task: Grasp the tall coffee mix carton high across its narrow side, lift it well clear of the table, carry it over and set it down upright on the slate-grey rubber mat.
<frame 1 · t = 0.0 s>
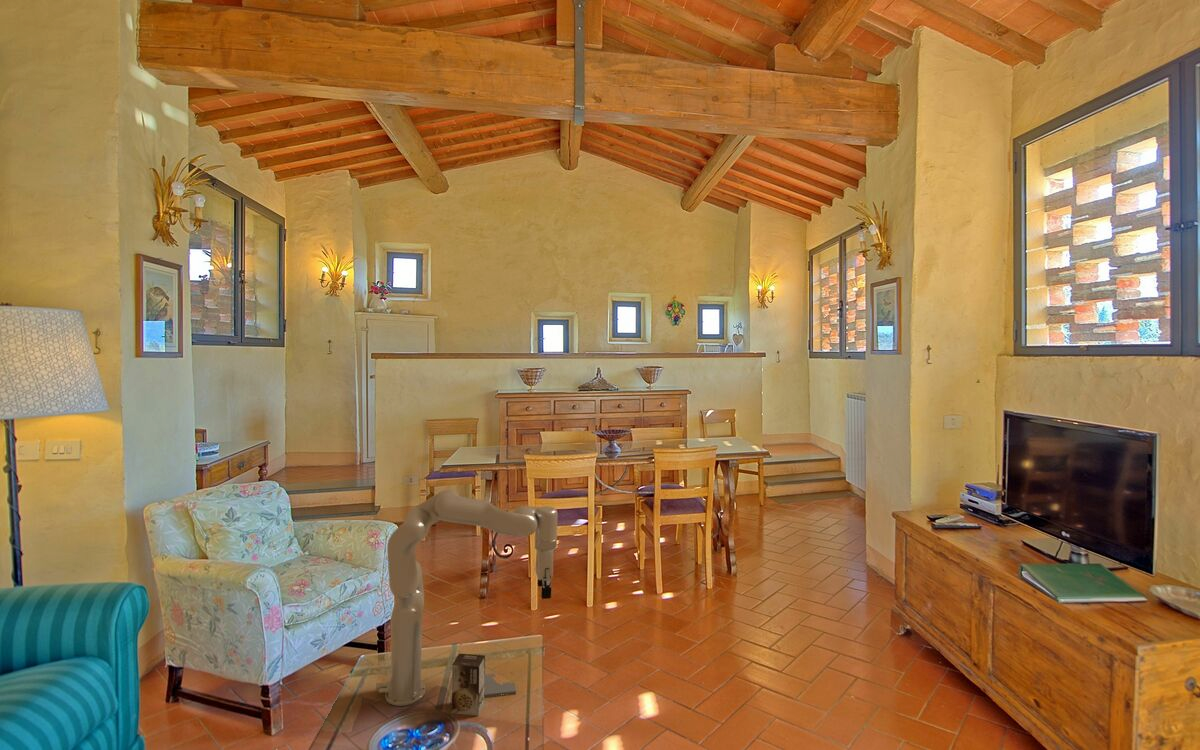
hand: (544, 591, 189), 31 cm above the table, tool pointing down, fingers open, 9 cm apart
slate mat: (498, 685, 186), on the table
coffee box: (468, 709, 174), on the table
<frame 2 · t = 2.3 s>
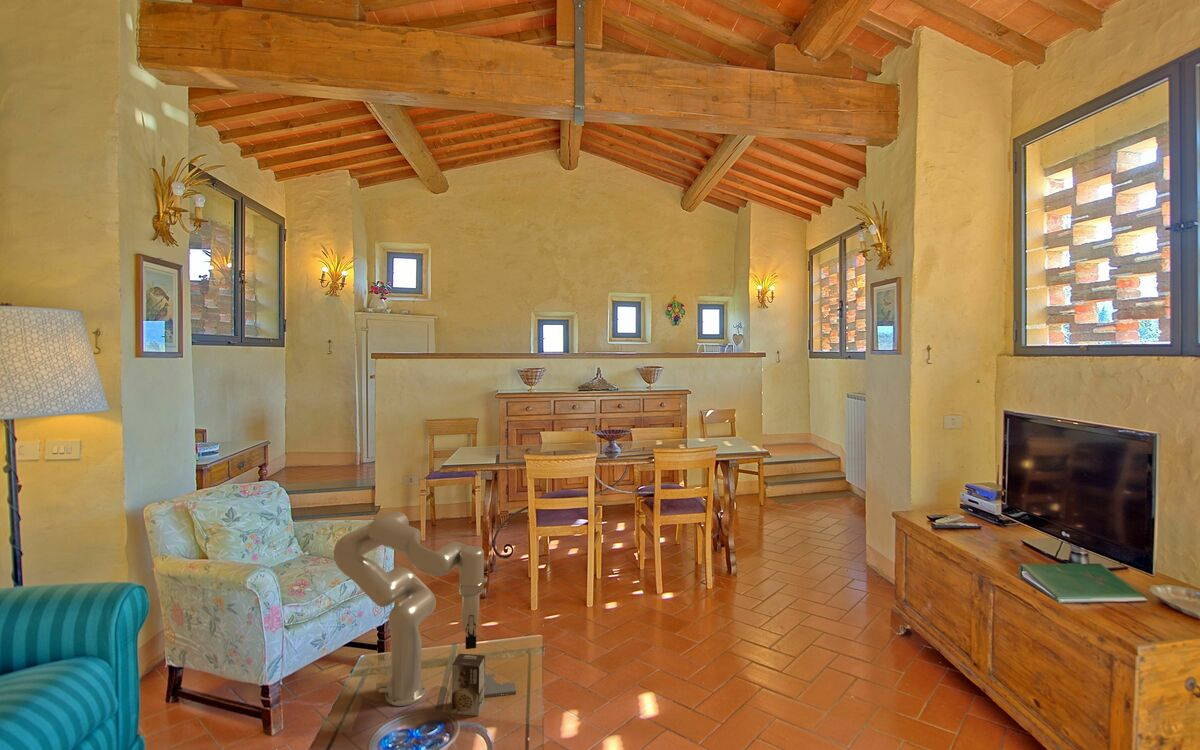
hand: (470, 639, 173), 23 cm above the table, tool pointing down, fingers open, 9 cm apart
nothing on the table moved.
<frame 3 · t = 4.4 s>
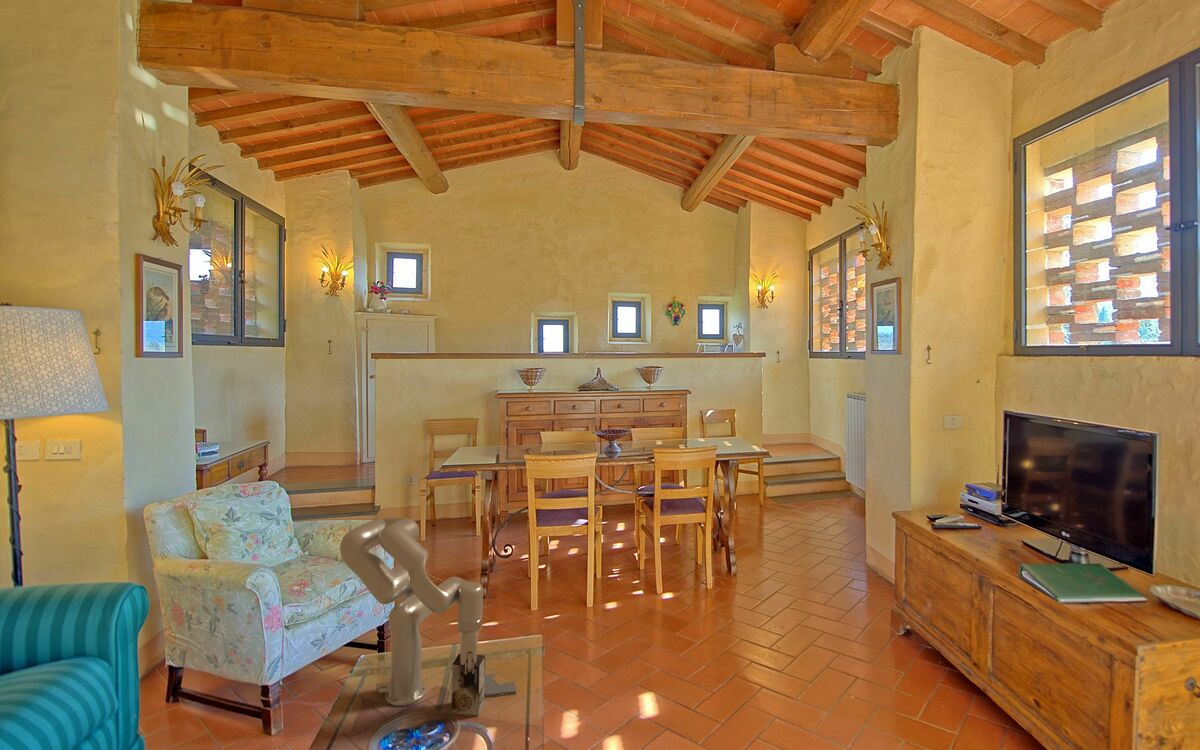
hand: (468, 676, 174), 10 cm above the table, tool pointing down, fingers closed on coffee box, 7 cm apart
coffee box: (468, 709, 174), on the table, touching gripper
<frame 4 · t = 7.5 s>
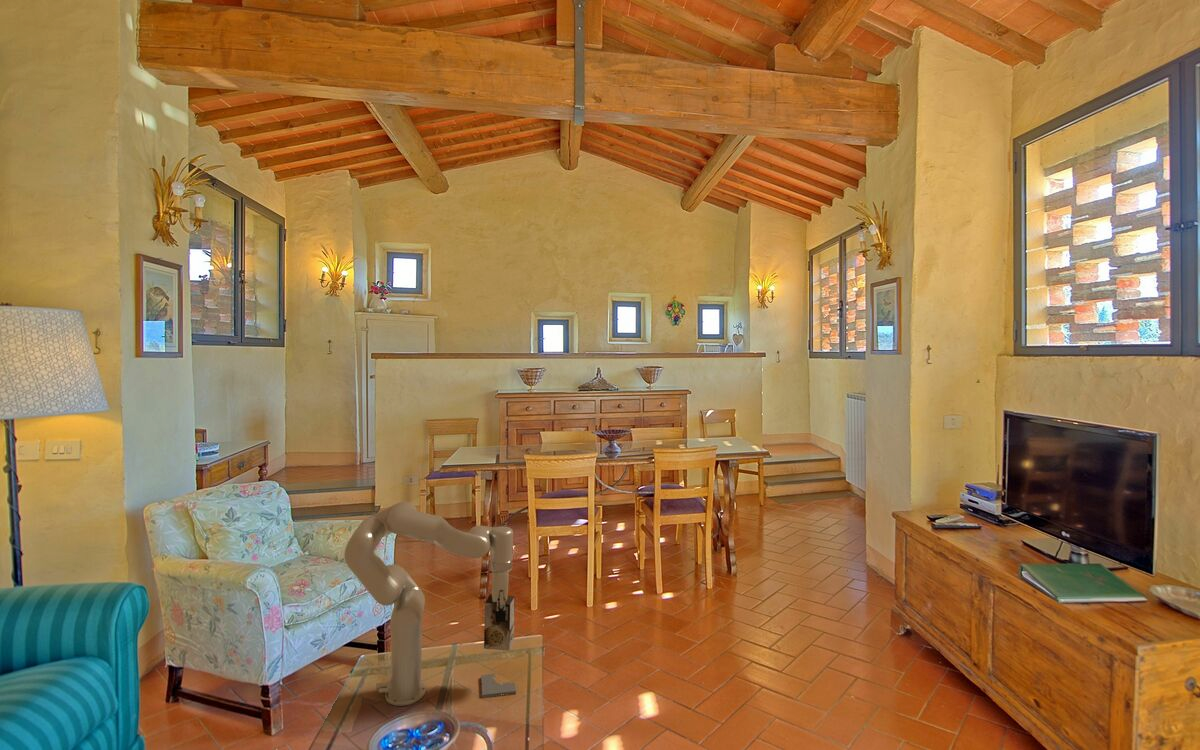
hand: (499, 615, 185), 25 cm above the table, tool pointing down, fingers closed on coffee box, 7 cm apart
coffee box: (498, 645, 185), point 14 cm above the table, touching gripper
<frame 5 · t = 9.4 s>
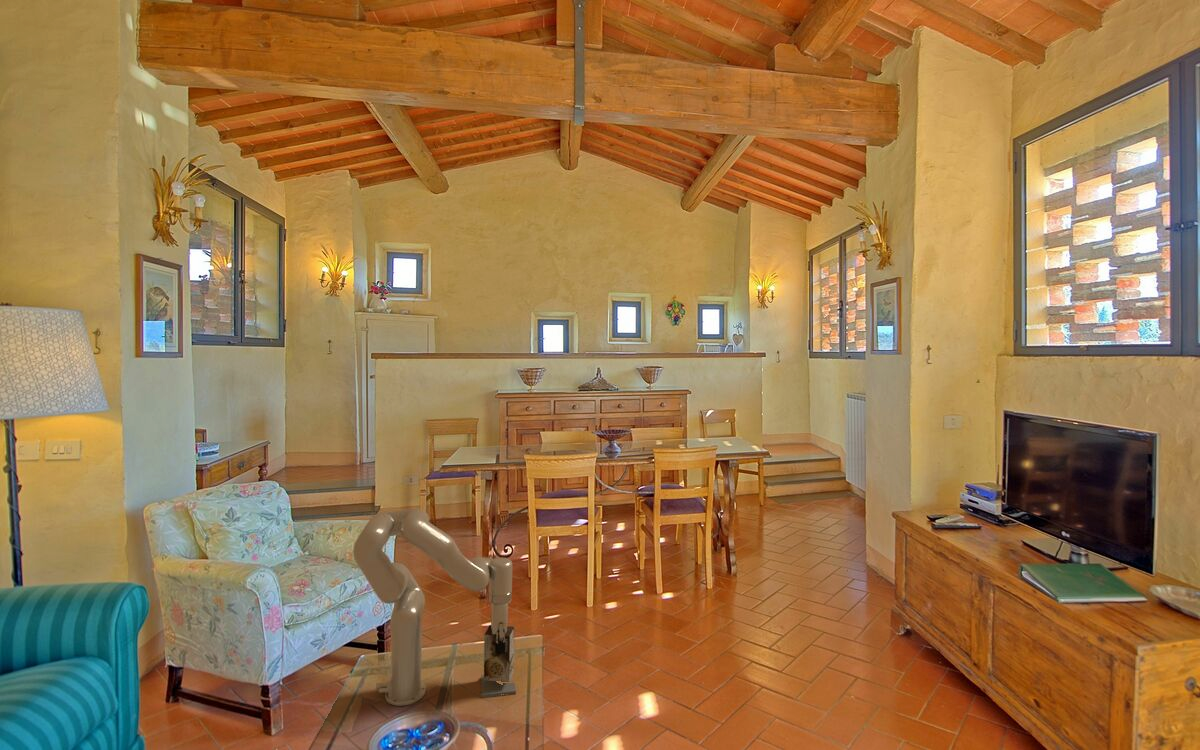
hand: (499, 646, 186), 14 cm above the table, tool pointing down, fingers closed on coffee box, 7 cm apart
coffee box: (498, 676, 186), point 3 cm above the table, touching gripper
when the fingers open (12 cm above the table, at t = 10.8 s): coffee box stays where it is, resting on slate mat.
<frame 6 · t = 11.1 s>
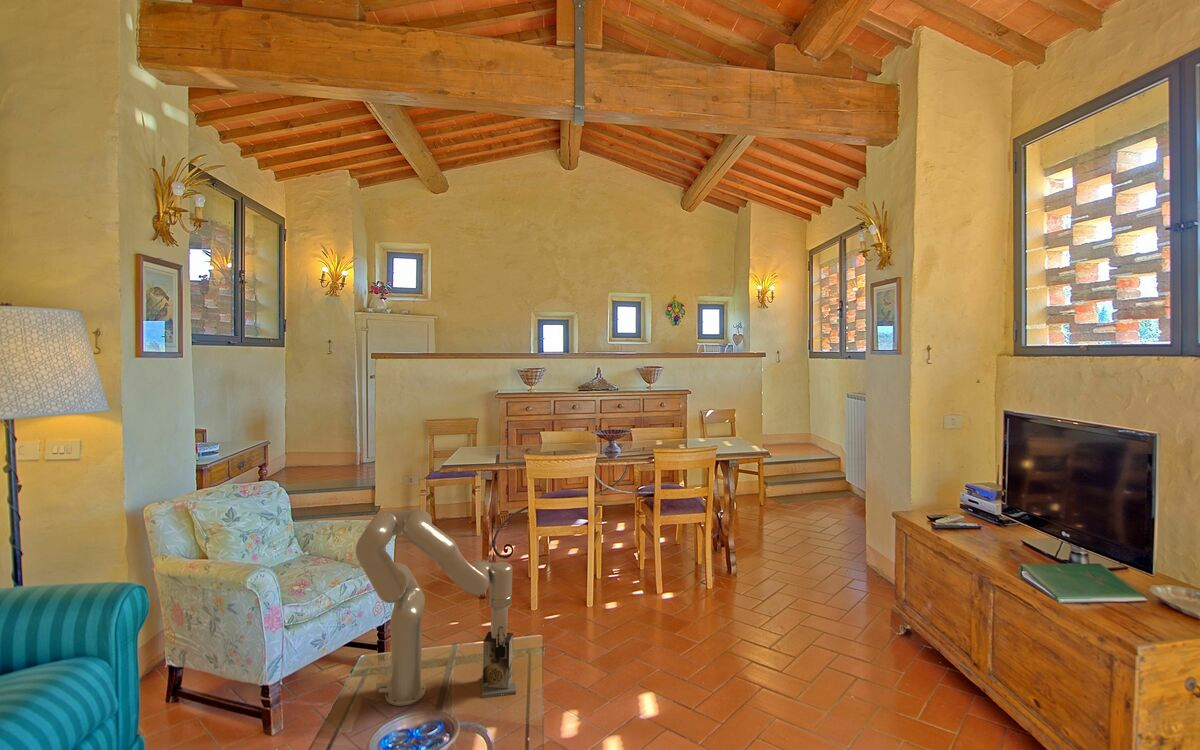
hand: (499, 649, 186), 13 cm above the table, tool pointing down, fingers open, 9 cm apart
coffee box: (497, 683, 186), point 1 cm above the table, touching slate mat
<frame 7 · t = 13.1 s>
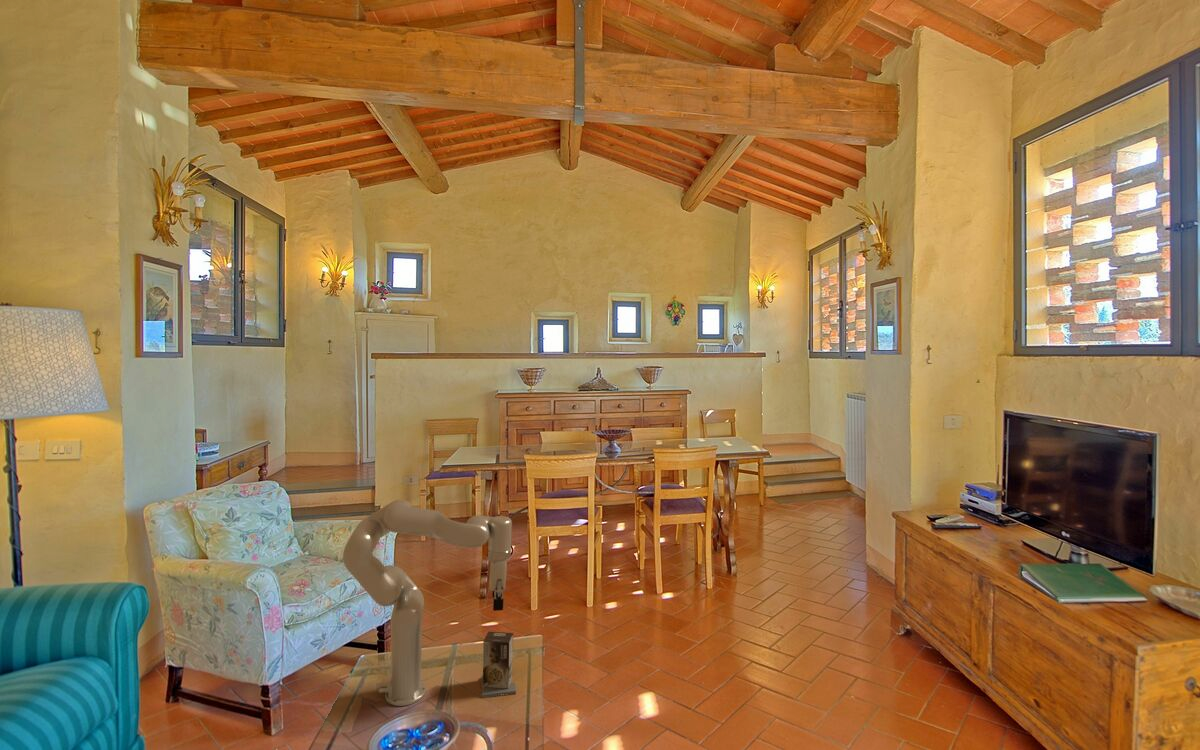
hand: (497, 603, 186), 28 cm above the table, tool pointing down, fingers open, 9 cm apart
nothing on the table moved.
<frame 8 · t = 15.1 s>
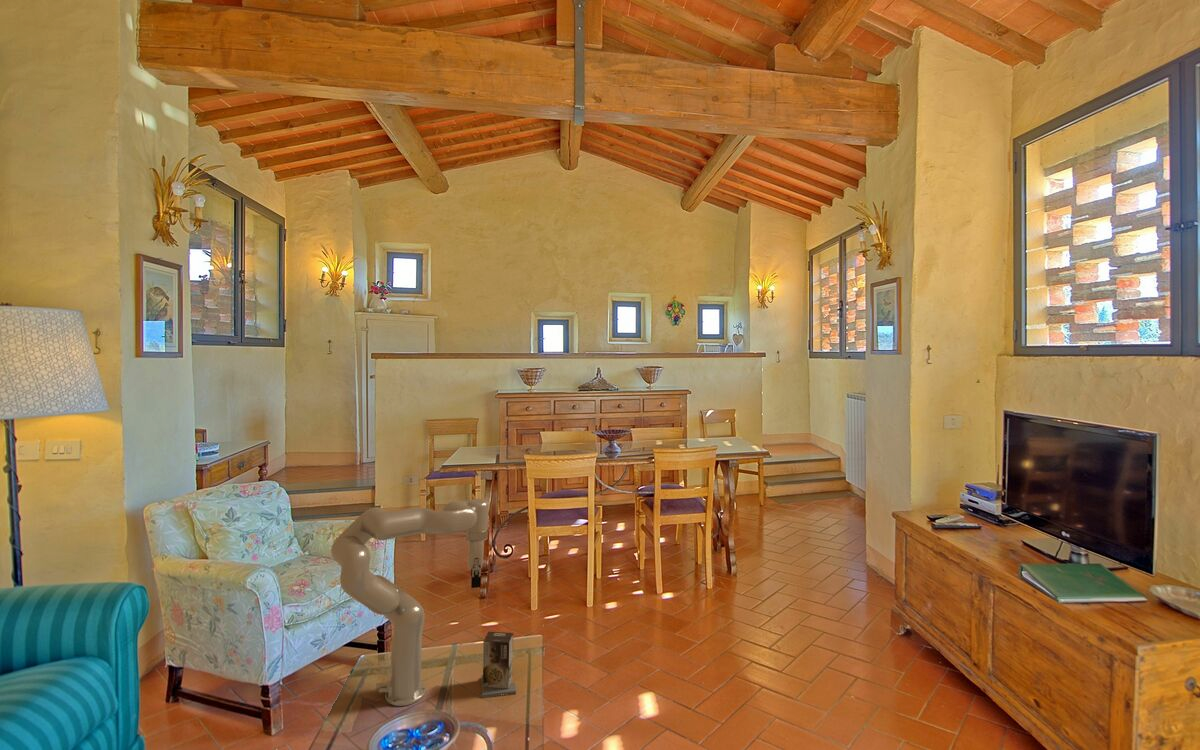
hand: (475, 581, 195), 31 cm above the table, tool pointing down, fingers open, 9 cm apart
nothing on the table moved.
at the end: coffee box inside the target area on the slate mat (0.3 cm from its centre), point 0.8 cm above the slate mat's base; coffee box tilted 0°; the gripper is holding nothing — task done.
